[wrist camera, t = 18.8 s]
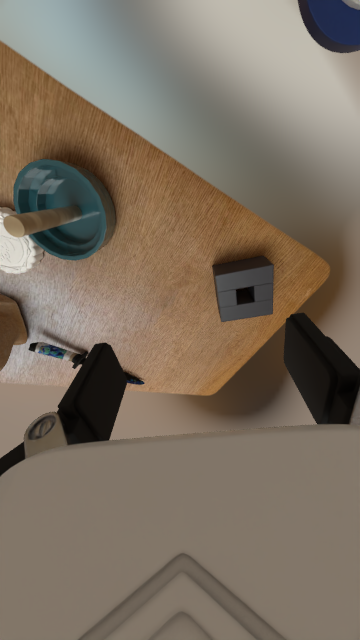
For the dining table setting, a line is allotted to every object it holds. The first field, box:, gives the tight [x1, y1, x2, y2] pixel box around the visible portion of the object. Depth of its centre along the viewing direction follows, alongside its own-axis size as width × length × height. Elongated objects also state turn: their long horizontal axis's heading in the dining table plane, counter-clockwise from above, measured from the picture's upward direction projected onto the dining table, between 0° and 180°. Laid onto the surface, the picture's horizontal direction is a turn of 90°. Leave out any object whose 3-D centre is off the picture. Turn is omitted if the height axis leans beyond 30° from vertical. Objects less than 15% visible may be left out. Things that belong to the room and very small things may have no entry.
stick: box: [3, 205, 82, 238], centre depth 32 cm, size 2×2×16 cm
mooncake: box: [0, 207, 44, 274], centre depth 41 cm, size 12×12×4 cm
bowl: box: [13, 159, 116, 260], centre depth 37 cm, size 14×14×6 cm
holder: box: [212, 256, 274, 322], centre depth 43 cm, size 10×10×6 cm
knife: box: [29, 342, 144, 385], centre depth 57 cm, size 30×3×4 cm, turn 54°
